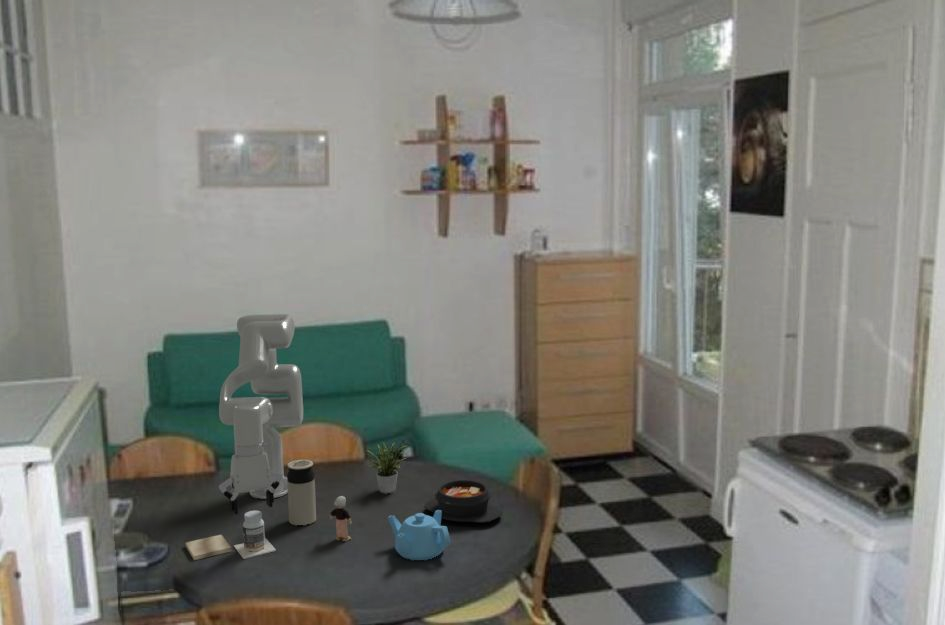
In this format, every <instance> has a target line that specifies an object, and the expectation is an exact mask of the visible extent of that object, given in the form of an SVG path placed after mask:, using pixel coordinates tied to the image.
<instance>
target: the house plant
mask: <svg viewBox="0 0 945 625" xmlns="http://www.w3.org/2000/svg"><path fill="white" fill-rule="evenodd" d="M382 443H383V444H382V445H383V448H384V449H383V448H382V446H381V445H380V444H377V447H378V451H379V452H378V453H379V456H380V457H378V456H377V455H376V454H375V453H373V452H372V451H370V450H368V449H367V450H366V449H365V451H366V452H369V453H370V454H371V455H372V456H374V458H375V459H376V460H377V461H378V462H377V461H374V460H373V459H370V461H371V462H372V463H373V464H370V465H369V467H372V468H374V469H376V470H377V472H376V474H375V475H376V479H377V480H376V481H377V485H378V490H380V491H381V492H391V491H394V490H395V489H396V488H397V481H398V474H399V472H398V471H399V470H398V468H399V469H400V468H401V465H400V463H401V462H403V460H406V459H407V457H404V458H402V459H399V457H400V456H401V455H402V454H404V453H405V452H406V453H407V450H405V451H401V452H400V450H402V449H403V448H405V447H408V446H409V445H408V444H406V445H402V446H401V447H399V448H398V449H396V451H395V453H394V450H395V444H396V442H393V443H392V444H391V447H390V450H389V449H388V447H387V446H386V443H385V442H382ZM395 464H396V465H395ZM380 491H379V492H380ZM395 491H396V490H395Z"/></svg>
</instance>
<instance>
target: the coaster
mask: <svg viewBox="0 0 945 625" xmlns="http://www.w3.org/2000/svg"><path fill="white" fill-rule="evenodd" d="M184 544H185V548H186V549H187V551H188V553H189V554H190V556H191V557H192V560H193V561H196V560H197V561H198V560H201V559H205V558H210V557H214V556H218V555H222V554H226V553H231V552H232V547H231V545H230V543H228V541H227V540H226V539H225V538H224V536H223V535H222V534H218V535H213V536H209V537H204V538H200V539H196V540H190V541H187V542H185V543H184Z"/></svg>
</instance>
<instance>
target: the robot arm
mask: <svg viewBox="0 0 945 625" xmlns="http://www.w3.org/2000/svg"><path fill="white" fill-rule="evenodd" d="M236 329H237V333H238V335H239V338H240V343H239V356H238V366H237V367H236V368H235V369H234V370H233V371H232V372H230V374H229V375H228V376H227V378H226V379H225V380H224V382H223V384H222V386H221V388H220V396H219V404H218V406H219V408H218V415H219V420H220V421H221V423H223V425H227V426H233V435H234V436H233V438H234V454H232V456H231V462H230V476H229V478H227V479H226V480H225V481H222V482H221V484H219V485H218V489H219V490H220V492H221V493H222V495H223V496H224V497H226V498H227V499H229V510H230V511H231V512H232V513H233V514H234V515H235V516H237V515H238V514H239V510H238V509H239V508H238V507H239V506H238V500H237V498H238V496H239V494H240V493H248V492H249V495H250V496H251V497H252V498H255V499H258V498H259V500H266V505H267V506H268V507H269V508H273V504H274V502H275V499H276V498H280V497H283V496H285V495H286V494H287V495H288V485H287V476H285V474H284V471H285V470H284V458H283V457H284V456H283V455H284V454H283V452H284V450H283V439H282V436H281V434H280V433H279V432H278V430H276V429H275V428H287V427H288V428H289V427H297V426H299V425H301V424H302V422H303V420H304V403H303V401H304V400H303V384H302V382H303V381H302V380H303V379H302V374H301V370H300V368H299V367H298V366H297V365H296V364H292V363H289V364H288V363H284V364H280V363H279V364H278V361H277V360H278V359H277V349H287V348H289V347H290V346H291V344H292V342H293V338H294V336H295V330H296V328H295V321H294V319H293V317H292V316H291V315H290V314H288V313H287V314H286V313H281V314H280V313H279V314H276V313H275V314H250V315H249V314H248V315H244V316H241V317H239V318H238V319H237V322H236ZM249 383H250V387H251V390H252V392H253V393H254V394H256V395H266V396H267V395H286V396H287V397H286V396H285V397H265V396H252V397H248V396H244V397H232V396H233V394H234V393H235V392H236V390H238V389H239V388H240V387H242V386H244V385H246V384H249ZM229 486H230V488H231V490H230V491H228V490H227V488H228V487H229Z"/></svg>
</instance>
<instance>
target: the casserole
mask: <svg viewBox="0 0 945 625" xmlns="http://www.w3.org/2000/svg"><path fill="white" fill-rule="evenodd" d="M490 498H492V493H491V492H490V491H489V488H488V486H487V485H485V484H484V483H482V482H480V481H475V480H469V479H468V480H467V479H466V480H465V479H464V480H463V479H461V480H452V481H448V482H447V481H446V482H445V483H442V484H441V485H440V486H439V487H438V489H437V492H436V493H435V495H434V498H432V499H430V500H428V501H427V502H426V503H425V504H424V508H425V509H426V510H428V511H430V512H432V513H433V515H434V514H435V511H437V510H441V511H442V515H441V520H442V519H443V520H446V521H451V522H462V523H463V522H464V523H465V522H466V523H467V522H468V523H478V524H481V523H483V524H485V523H489V522H491V521H495V520H496V519H498V518H500V517H501V516H502V515H503V510H502V508H500V507H499V506H496V505H494V504H493V503H491V502H489V500H490Z"/></svg>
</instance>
